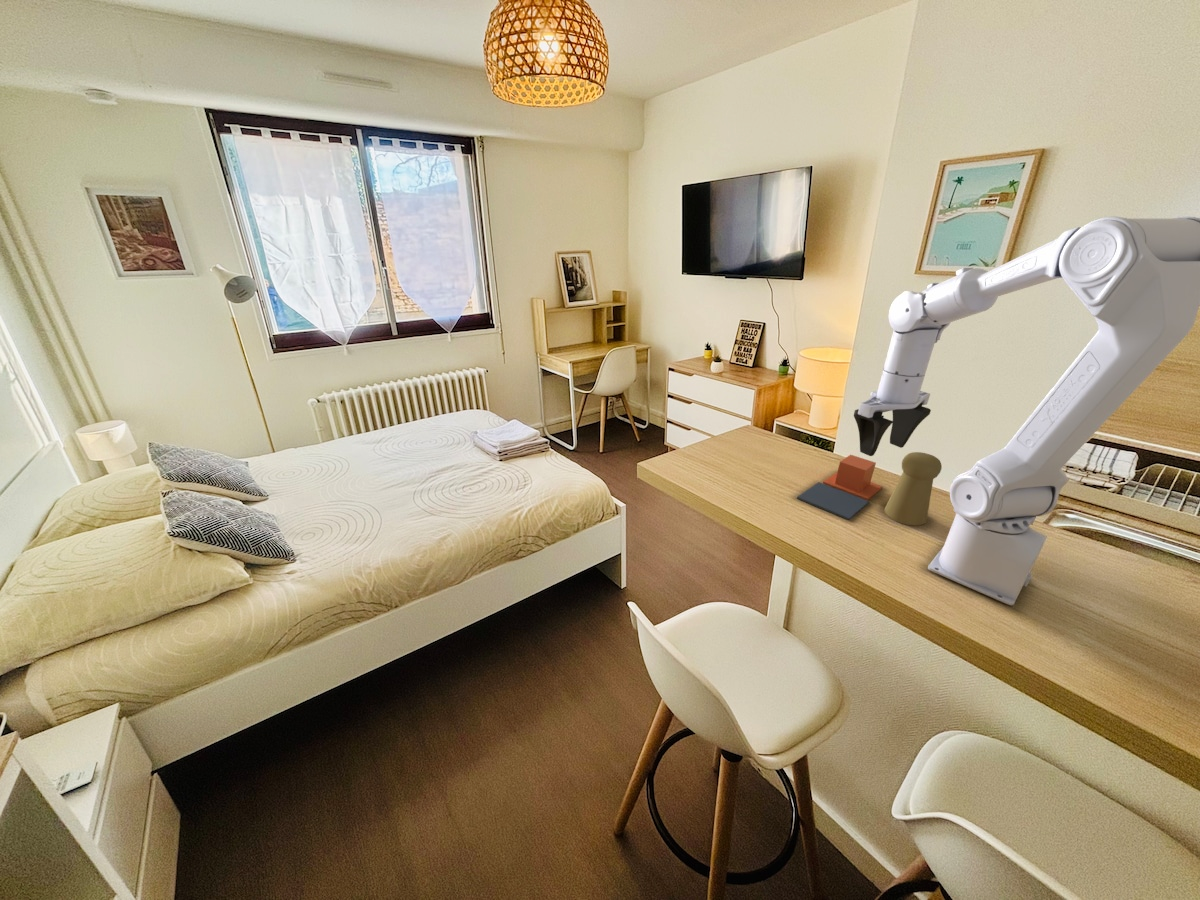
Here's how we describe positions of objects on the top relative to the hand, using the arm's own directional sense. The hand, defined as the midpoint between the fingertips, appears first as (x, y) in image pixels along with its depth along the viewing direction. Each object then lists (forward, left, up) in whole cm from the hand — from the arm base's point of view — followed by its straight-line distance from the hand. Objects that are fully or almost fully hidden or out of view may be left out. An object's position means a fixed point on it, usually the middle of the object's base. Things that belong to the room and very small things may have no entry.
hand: (881, 449), depth 79 cm
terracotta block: (+4, -1, -9) cm, 9 cm away
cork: (-7, +2, -9) cm, 12 cm away
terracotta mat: (+3, -1, -9) cm, 10 cm away
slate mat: (+3, +7, -9) cm, 12 cm away
